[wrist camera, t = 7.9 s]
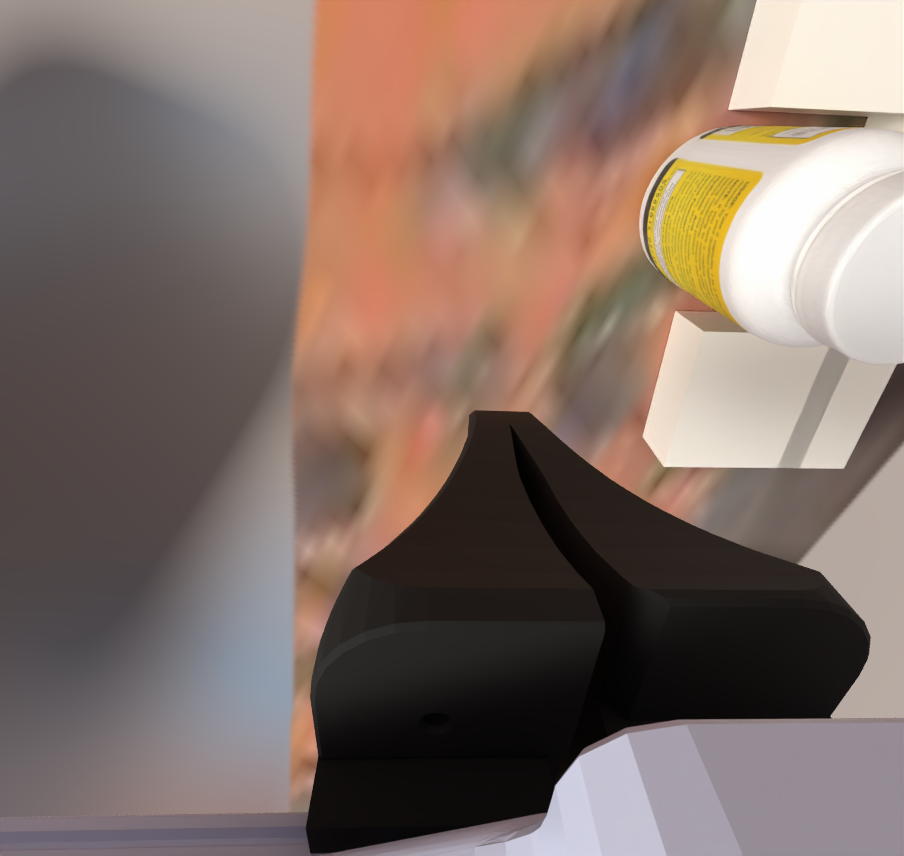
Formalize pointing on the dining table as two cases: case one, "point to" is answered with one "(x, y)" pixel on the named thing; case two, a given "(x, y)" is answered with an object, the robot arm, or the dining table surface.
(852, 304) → the supplement bottle
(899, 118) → the socket dock
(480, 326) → the dining table surface
